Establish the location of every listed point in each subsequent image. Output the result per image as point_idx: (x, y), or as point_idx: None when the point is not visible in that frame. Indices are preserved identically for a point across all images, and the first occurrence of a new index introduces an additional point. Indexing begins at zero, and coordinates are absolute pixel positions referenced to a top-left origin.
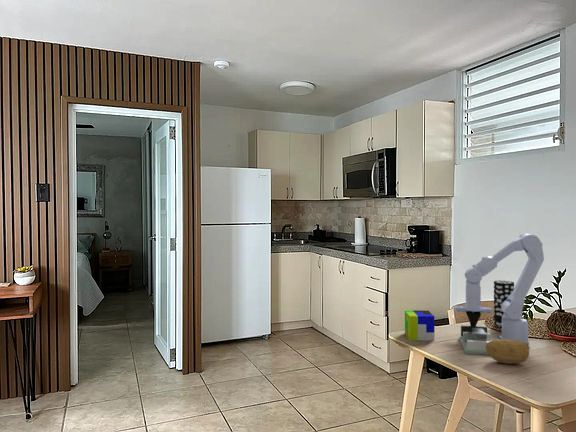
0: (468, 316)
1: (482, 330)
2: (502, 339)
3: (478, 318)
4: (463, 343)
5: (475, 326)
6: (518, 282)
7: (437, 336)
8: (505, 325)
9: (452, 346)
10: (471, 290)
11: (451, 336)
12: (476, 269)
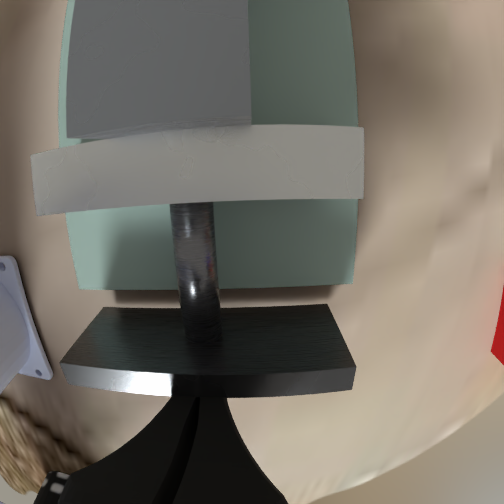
0: (274, 490)
1: (94, 17)
2: (19, 297)
3: (110, 459)
4: (343, 62)
5: (177, 386)
6: None
7: (472, 304)
8: None
9: (421, 56)
10: None
11: (385, 334)
12: None
